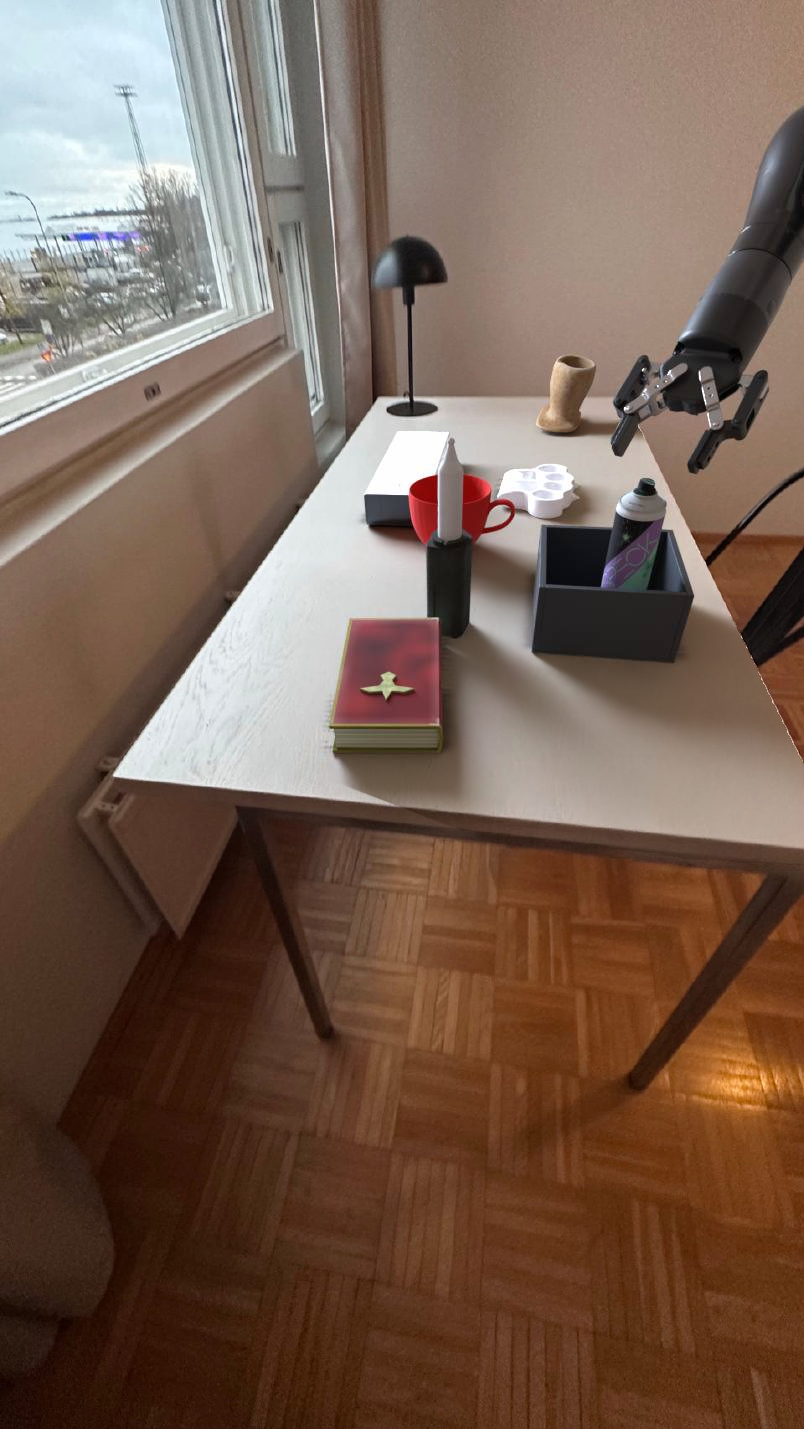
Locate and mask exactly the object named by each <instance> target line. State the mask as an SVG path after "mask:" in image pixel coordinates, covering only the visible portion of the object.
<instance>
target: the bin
mask: <svg viewBox="0 0 804 1429" xmlns="http://www.w3.org/2000/svg"><path fill="white" fill-rule="evenodd" d="M612 528H613V526H591V525H589V526H587V525H566V524H565V525H563V524H540V531H539V538H538V539H539V540H538V548H537V557H536V566H535V567H536V568H535V575H534V576H535V577H534V585H533V604H532V606H533V607H532V629H531V630H532V631H531V632H532V633H531V653H532V654H533V653H534V654H545V655H559V656H560V655H561V656H571V657H573V656H574V657H586V658H587V657H588V658H603V659H613V660H614V659H615V660H629V661H630V660H632V661H642V662H643V661H644V662H657V663H671V664H674V663H675V662H676V658H677V655H678V652H679V648H680V645H681V642H682V638H683V635H684V632H685V629H686V626H687V622H688V619H689V615H690V612H691V609H692V605H693V602H694V599H695V593H694V590H693V587H692V584H691V580H690V577H689V575H688V572H687V569H686V566H685V562H684V560H683V556H682V553H681V550H680V547H679V545H678V541H677V538H676V535H675V533H674V530H673V529H667V528H665V529H663V528H662V530H661V534H660V538H659V542H658V547H657V551H656V555H655V559H654V563H653V567H652V571H651V575H650V579H649V583H648V587H647V590H640V589H622V588H603V587H601V584H602V579H603V574H604V569H605V564H606V559H607V553H608V548H609V543H610V538H611V533H612Z"/></svg>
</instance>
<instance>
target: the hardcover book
mask: <svg viewBox="0 0 804 1429" xmlns="http://www.w3.org/2000/svg"><path fill="white" fill-rule="evenodd" d="M343 646H344V647H343V650H342V651H343V652H342V655H341V662H340V666H339V672H338V677H337V682H336V688H335V692H334V693H335V694H334V698H333V704H332V708H331V713H330V719H329V724H328V728H329V730H333V733H334V739H333V747H332V753H333V754H440V752H442V749H443V745H444V714H443V713H444V712H443V710H444V708H443V701H444V700H443V697H444V696H443V635H442V626H441V621H440V619H439V618H427V617H350V618H349V620H348V625H347V630H346V635H345V641H344V645H343Z"/></svg>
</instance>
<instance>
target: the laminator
mask: <svg viewBox="0 0 804 1429" xmlns="http://www.w3.org/2000/svg"><path fill="white" fill-rule="evenodd" d="M449 438H451V433H450V431H421V430H420V431H417V430H415V431H414V430H413V431H411V430H409V431H408V430H398V431H397V433H396V434H395V436H394V438H393V440H392V442H391V443H390V445H389V447H388V450H387V451H386V453H385V455H384V457H383V458H382V461H381V463H380V464H379V466H378V468H377V470H376V472H375V474H374V476H373V478H372V480H371V482H370V483H369V485H368V486H367V489H366V490H365V493H364V495H363V503H364V514H365V515H364V516H365V524H366V526H395V527H396V526H398V527H399V526H400V527H402V526H403V527H414V526H413V523H412V519H411V513H410V506H409V488H410V486H411V485H412V484H413V483H414V482H415V481H417V480H419V479H421V478H424V477H427V476H431V475H437V474H438V468H439V466H440V465H441V463H442V462H443V460H444V457H445V454H446V451H447V447H448V443H447V441H448V439H449Z"/></svg>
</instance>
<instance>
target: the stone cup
mask: <svg viewBox="0 0 804 1429" xmlns="http://www.w3.org/2000/svg"><path fill="white" fill-rule="evenodd" d="M596 372H597V365H596V363H595V362H594V361H593V360H592V359H590V358H588V357H585V356H583V355H579V354H573V353H572V354H571V353H568V354H563V355H560V356H559V357H558V358H556V361H555V363H554V365H553V368H552V372H551V377H550V382H549V394H550V396H549V403H547V404H544V405H543V406H542V408H541V410H540V412H539V415H538V416H537V418H536V422H535V424H536V427H537V428H538V429H539V430H542V431H545V432H551V433H572V432H574V431H576V430H577V428H578V427H579V426H580V422H581V416H582V412H581V407H582V405H583V404H584V403H583V402H584V400H585V399H586V398H587V395H588V393H589V391H590V389H591V388H592V386H593V383H594V380H595V375H596Z"/></svg>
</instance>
